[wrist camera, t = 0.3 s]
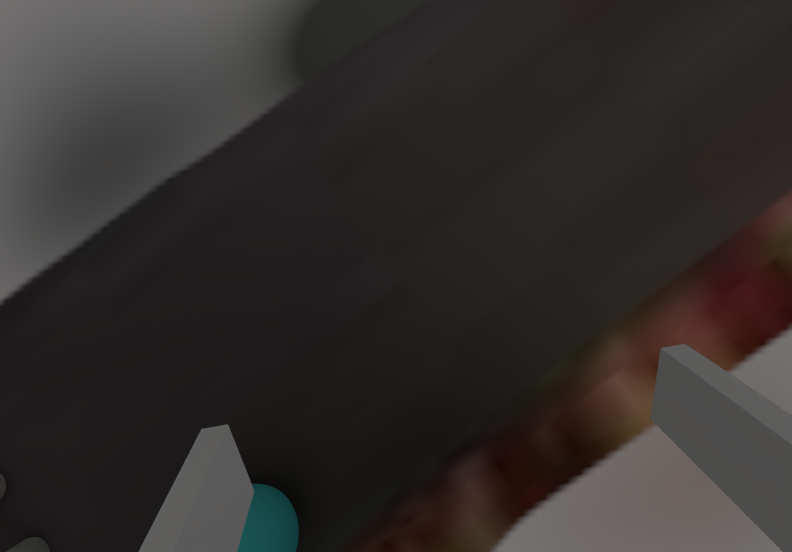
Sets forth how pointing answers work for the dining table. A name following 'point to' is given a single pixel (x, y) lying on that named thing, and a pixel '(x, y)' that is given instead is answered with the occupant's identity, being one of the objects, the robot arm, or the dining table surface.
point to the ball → (269, 522)
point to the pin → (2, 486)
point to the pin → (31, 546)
